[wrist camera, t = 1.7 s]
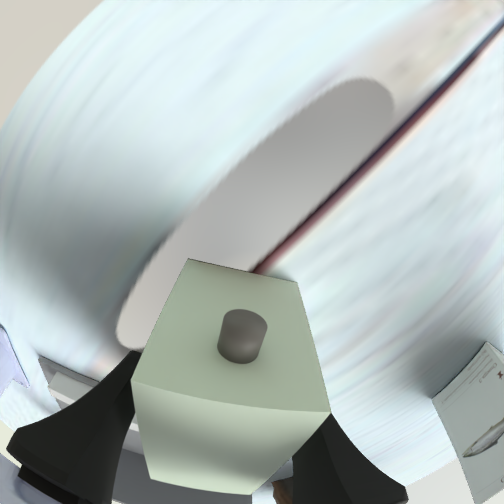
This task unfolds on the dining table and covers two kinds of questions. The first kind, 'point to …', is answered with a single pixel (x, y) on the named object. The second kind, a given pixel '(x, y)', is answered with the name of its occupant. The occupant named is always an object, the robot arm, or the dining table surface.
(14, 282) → the dining table surface
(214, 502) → the grey piece
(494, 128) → the dining table surface
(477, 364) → the supplement box
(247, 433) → the cabinet block
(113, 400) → the robot arm
